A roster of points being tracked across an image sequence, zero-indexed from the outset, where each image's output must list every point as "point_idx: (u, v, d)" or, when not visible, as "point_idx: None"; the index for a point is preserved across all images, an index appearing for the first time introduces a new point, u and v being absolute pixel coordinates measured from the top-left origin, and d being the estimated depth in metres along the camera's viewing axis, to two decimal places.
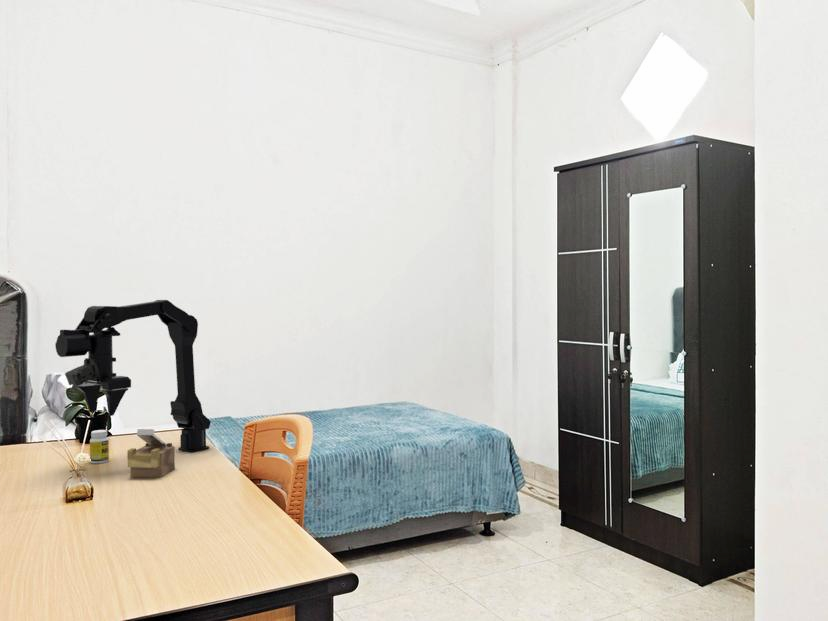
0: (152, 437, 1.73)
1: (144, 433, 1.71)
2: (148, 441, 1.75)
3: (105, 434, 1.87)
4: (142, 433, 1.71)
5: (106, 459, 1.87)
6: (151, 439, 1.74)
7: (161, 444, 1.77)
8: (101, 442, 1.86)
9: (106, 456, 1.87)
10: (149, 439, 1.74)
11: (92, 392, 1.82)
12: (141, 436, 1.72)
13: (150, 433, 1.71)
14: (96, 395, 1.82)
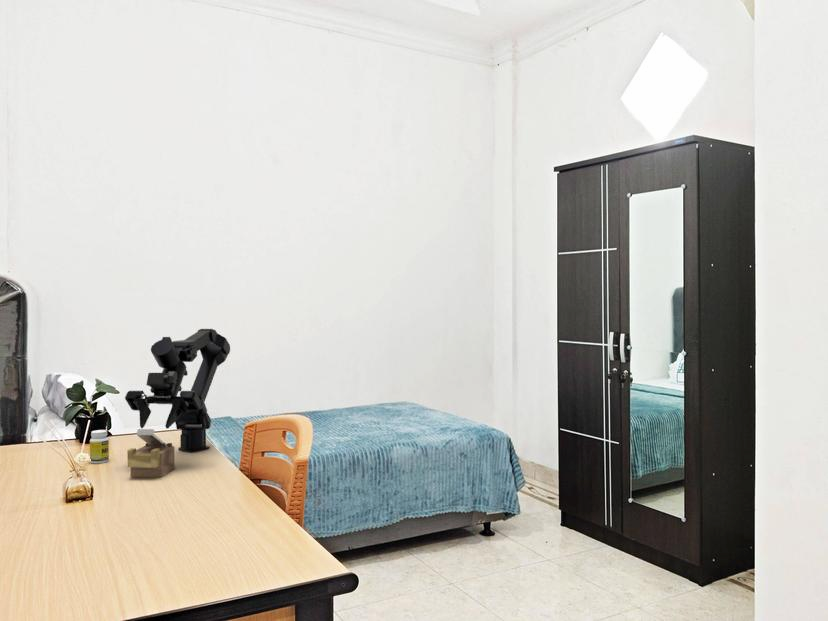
0: (152, 437, 1.73)
1: (144, 433, 1.71)
2: (148, 441, 1.75)
3: (105, 434, 1.87)
4: (142, 433, 1.71)
5: (106, 459, 1.87)
6: (151, 439, 1.74)
7: (161, 444, 1.77)
8: (101, 442, 1.86)
9: (106, 456, 1.87)
10: (149, 439, 1.74)
11: (146, 411, 1.80)
12: (141, 436, 1.72)
13: (150, 433, 1.71)
14: (147, 416, 1.81)
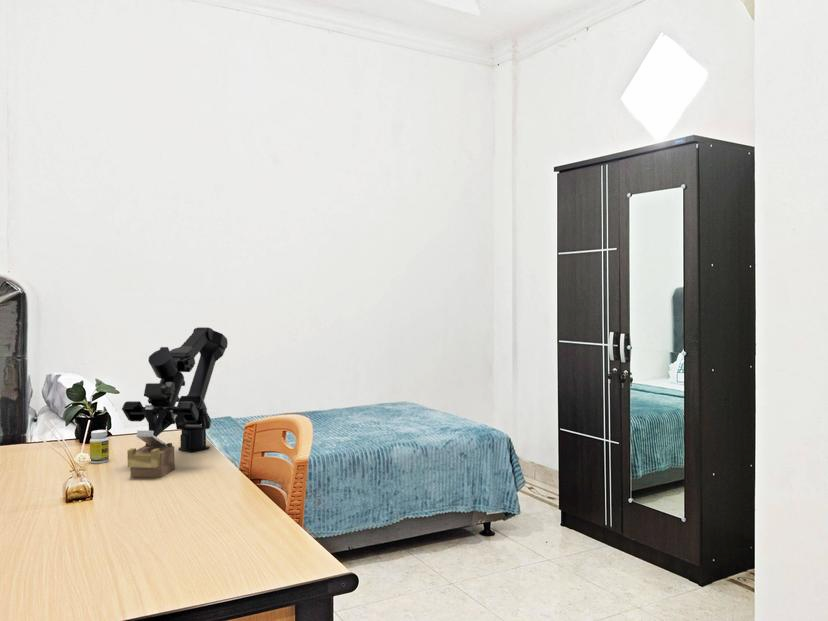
0: (152, 439, 1.73)
1: (144, 434, 1.71)
2: (148, 442, 1.75)
3: (105, 434, 1.87)
4: (142, 434, 1.71)
5: (106, 459, 1.87)
6: (151, 440, 1.74)
7: (161, 444, 1.77)
8: (101, 442, 1.86)
9: (106, 456, 1.87)
10: (149, 440, 1.74)
11: (155, 422, 1.78)
12: (141, 437, 1.71)
13: (149, 435, 1.71)
14: None
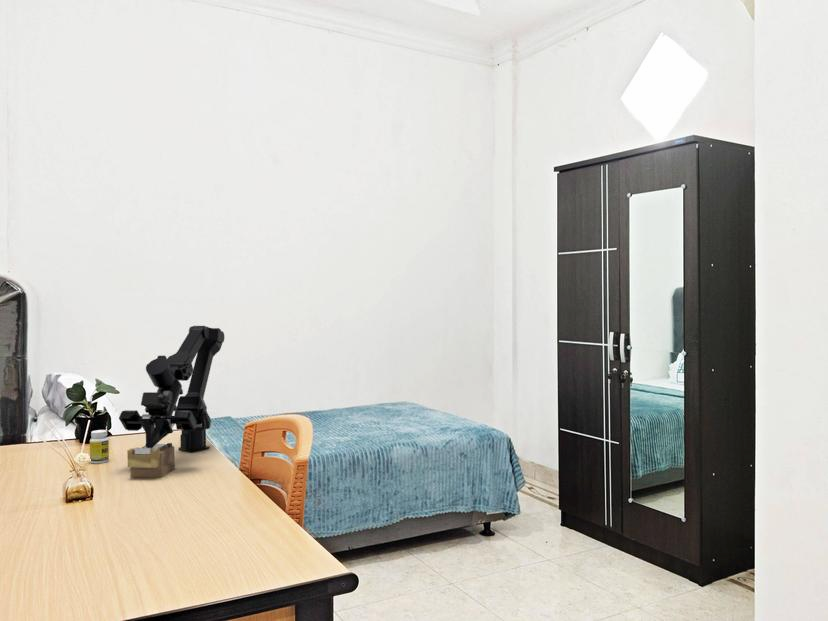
0: None
1: (142, 452, 1.70)
2: None
3: (105, 434, 1.87)
4: (140, 452, 1.70)
5: (106, 459, 1.87)
6: None
7: None
8: (101, 442, 1.86)
9: (106, 456, 1.87)
10: None
11: (153, 432, 1.77)
12: None
13: (148, 453, 1.70)
14: None
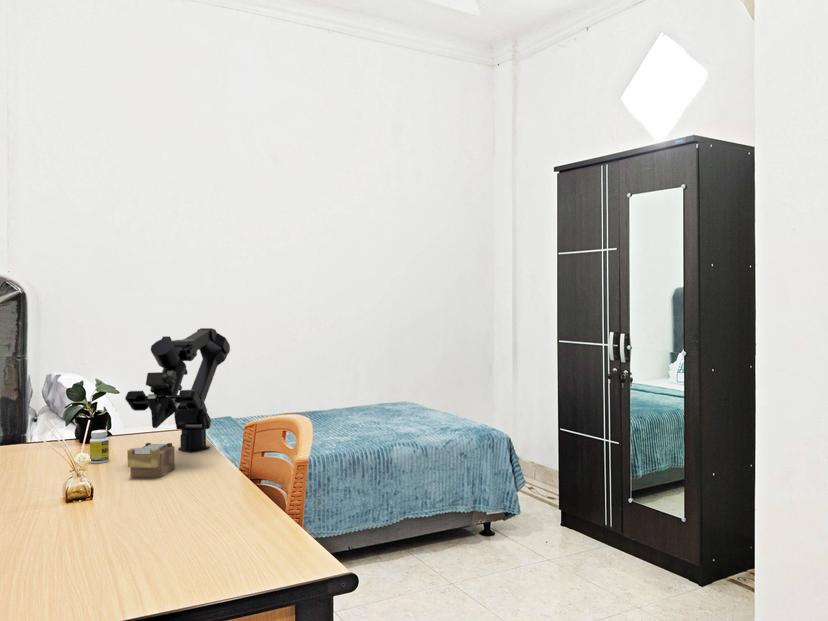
0: None
1: (142, 452, 1.70)
2: None
3: (105, 434, 1.87)
4: (140, 452, 1.70)
5: (106, 459, 1.87)
6: None
7: None
8: (101, 442, 1.86)
9: (106, 456, 1.87)
10: None
11: (158, 411, 1.80)
12: None
13: (148, 453, 1.70)
14: None
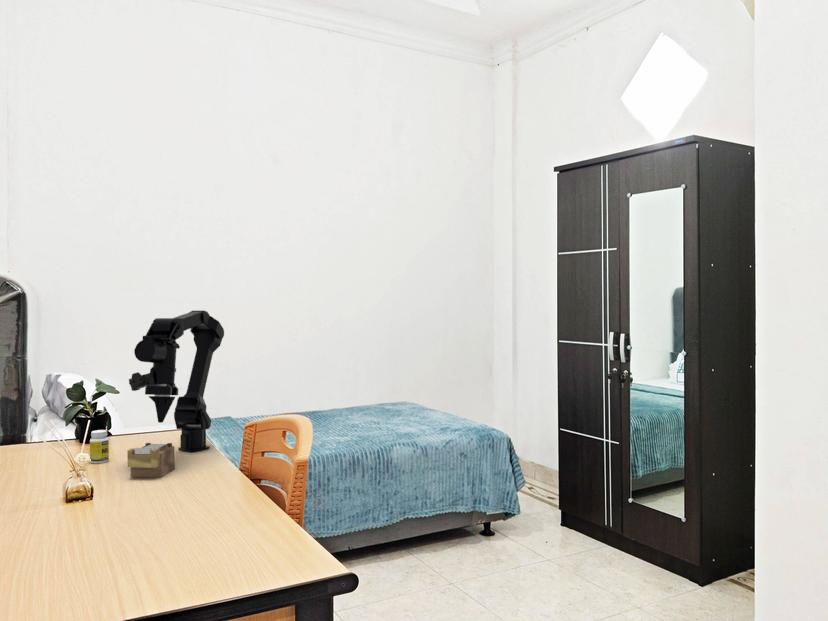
0: None
1: (142, 452, 1.70)
2: None
3: (105, 434, 1.87)
4: (140, 452, 1.70)
5: (106, 459, 1.87)
6: None
7: None
8: (101, 442, 1.86)
9: (106, 456, 1.87)
10: None
11: None
12: None
13: (148, 453, 1.70)
14: None
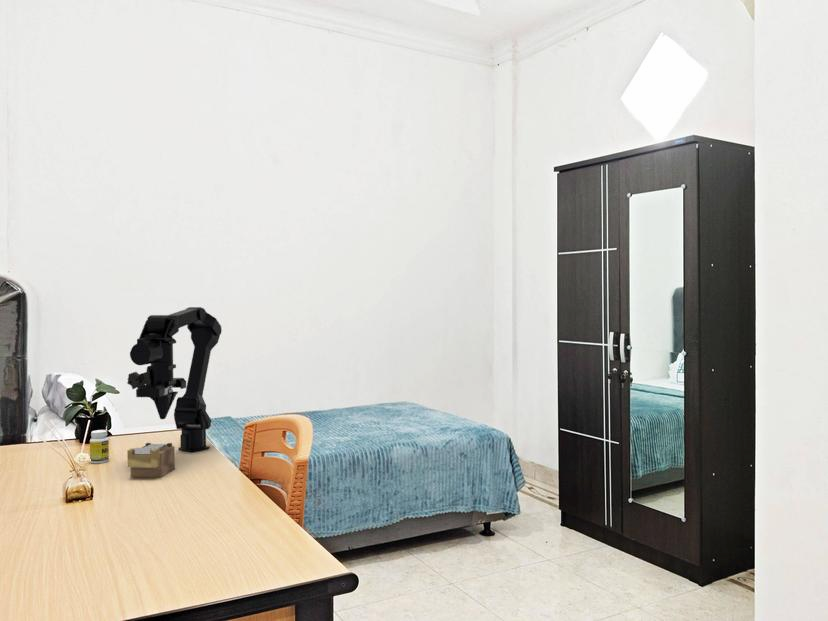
0: None
1: (142, 452, 1.70)
2: None
3: (105, 434, 1.87)
4: (140, 452, 1.70)
5: (106, 459, 1.87)
6: None
7: None
8: (101, 442, 1.86)
9: (106, 456, 1.87)
10: None
11: None
12: None
13: (148, 453, 1.70)
14: (168, 403, 1.86)
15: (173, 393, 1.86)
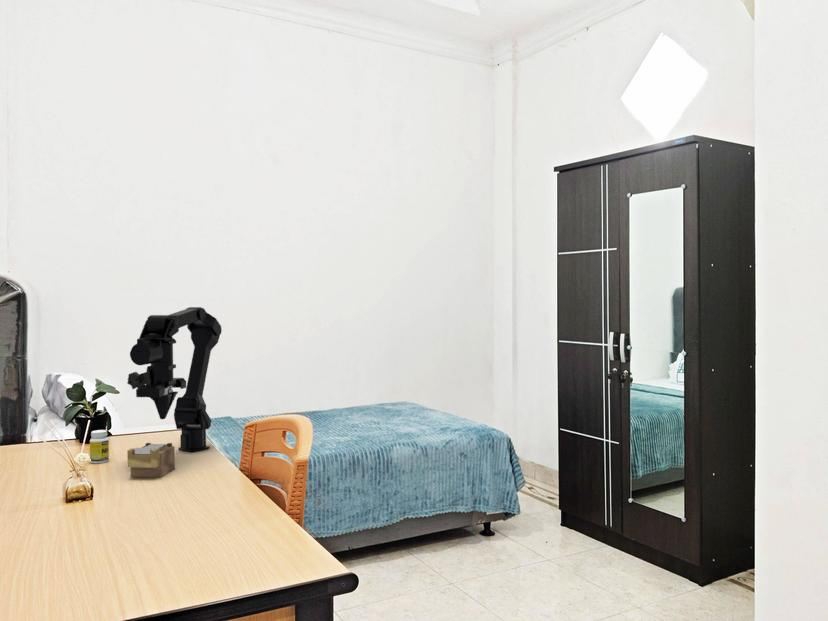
0: None
1: (142, 452, 1.70)
2: None
3: (105, 434, 1.87)
4: (140, 452, 1.70)
5: (106, 459, 1.87)
6: None
7: None
8: (101, 442, 1.86)
9: (106, 456, 1.87)
10: None
11: None
12: None
13: (148, 453, 1.70)
14: (168, 403, 1.86)
15: (173, 393, 1.86)
